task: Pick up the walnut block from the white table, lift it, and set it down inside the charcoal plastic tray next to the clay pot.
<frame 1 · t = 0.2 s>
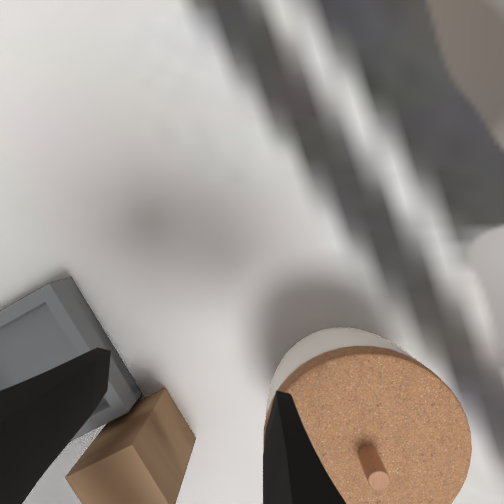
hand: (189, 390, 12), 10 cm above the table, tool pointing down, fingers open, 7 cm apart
lidded jar: (331, 371, 23), on the table
tray: (51, 365, 23), on the table
walnut block: (155, 425, 24), on the table
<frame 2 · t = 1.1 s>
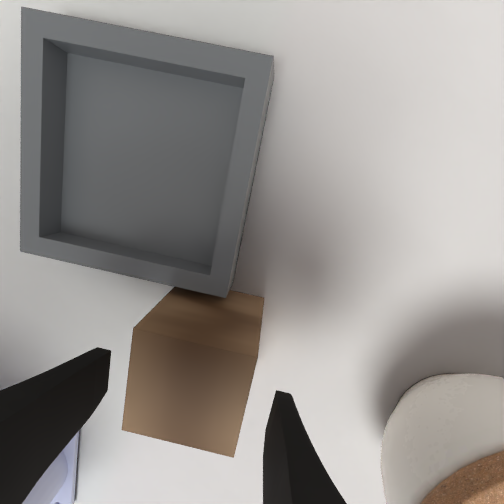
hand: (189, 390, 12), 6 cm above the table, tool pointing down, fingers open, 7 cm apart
lidded jar: (443, 414, 18), on the table
tray: (153, 167, 16), on the table
walnut block: (216, 325, 18), on the table
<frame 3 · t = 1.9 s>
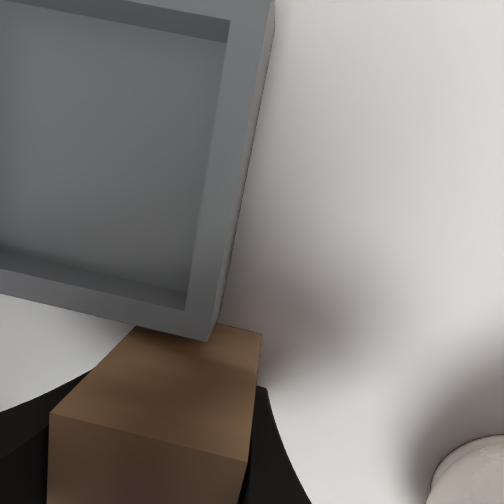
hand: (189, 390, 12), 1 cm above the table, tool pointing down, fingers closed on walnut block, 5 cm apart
lidded jar: (495, 483, 14), on the table
tray: (110, 160, 11), on the table
walnut block: (198, 368, 13), on the table, touching gripper
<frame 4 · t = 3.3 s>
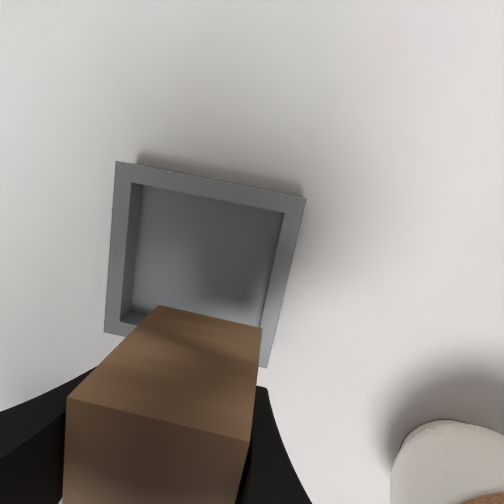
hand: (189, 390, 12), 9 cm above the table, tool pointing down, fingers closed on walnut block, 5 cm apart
lidded jar: (440, 450, 22), on the table
tray: (205, 261, 20), on the table
walnut block: (202, 362, 14), point 6 cm above the table, touching gripper
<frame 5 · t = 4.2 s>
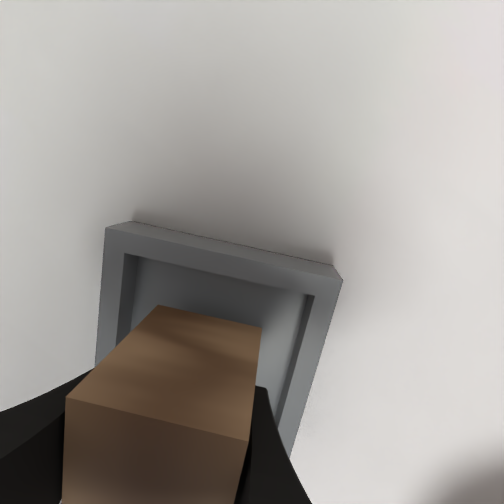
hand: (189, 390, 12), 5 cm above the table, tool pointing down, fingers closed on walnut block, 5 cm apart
tray: (213, 334, 16), on the table
walnut block: (201, 361, 14), point 3 cm above the table, touching gripper
when the fingers open (4 cm above the table, at t = 4.8 s): walnut block drops 1 cm, resting on tray.
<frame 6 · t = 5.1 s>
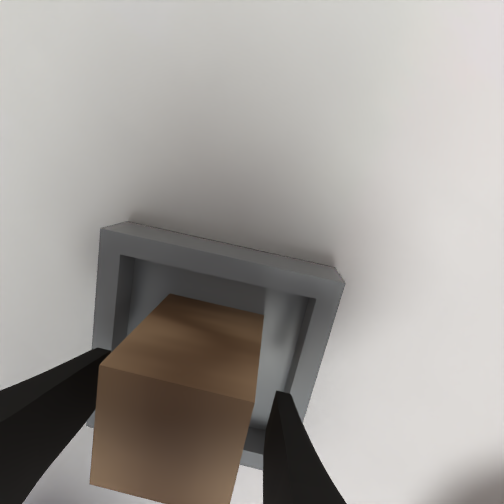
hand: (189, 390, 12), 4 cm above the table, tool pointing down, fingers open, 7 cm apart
tray: (211, 337, 16), on the table
walnut block: (208, 346, 15), point 1 cm above the table, touching tray
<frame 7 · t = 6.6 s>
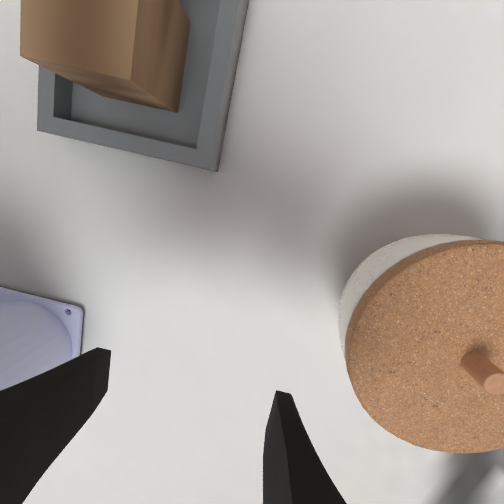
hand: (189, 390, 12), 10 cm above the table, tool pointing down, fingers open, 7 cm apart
lidded jar: (398, 293, 21), on the table
tray: (150, 65, 18), on the table
walnut block: (144, 61, 18), point 1 cm above the table, touching tray
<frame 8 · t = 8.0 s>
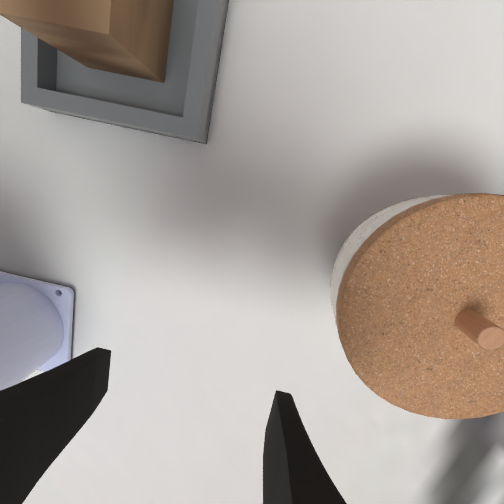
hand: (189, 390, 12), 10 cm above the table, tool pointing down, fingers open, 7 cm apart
lidded jar: (393, 267, 20), on the table
tray: (135, 35, 18), on the table
walnut block: (129, 29, 17), point 1 cm above the table, touching tray
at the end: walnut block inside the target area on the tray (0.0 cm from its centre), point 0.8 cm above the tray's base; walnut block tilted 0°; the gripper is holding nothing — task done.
